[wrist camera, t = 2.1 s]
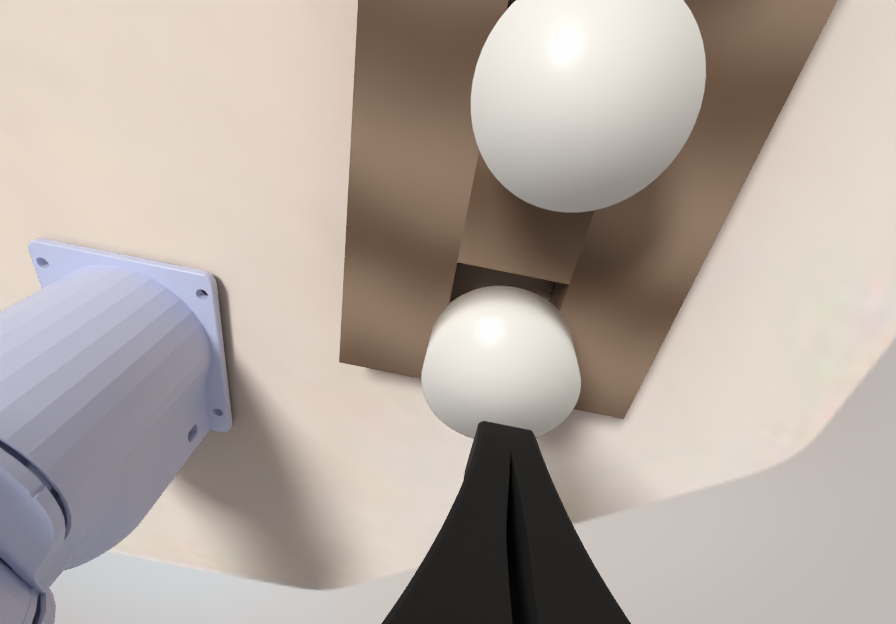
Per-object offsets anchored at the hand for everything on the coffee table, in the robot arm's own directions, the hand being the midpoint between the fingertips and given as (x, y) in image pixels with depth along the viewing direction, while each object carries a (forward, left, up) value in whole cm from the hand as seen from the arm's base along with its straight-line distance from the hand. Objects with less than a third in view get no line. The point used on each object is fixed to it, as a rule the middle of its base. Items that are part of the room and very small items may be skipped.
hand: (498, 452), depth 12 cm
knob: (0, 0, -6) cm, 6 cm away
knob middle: (+8, 0, -6) cm, 10 cm away
